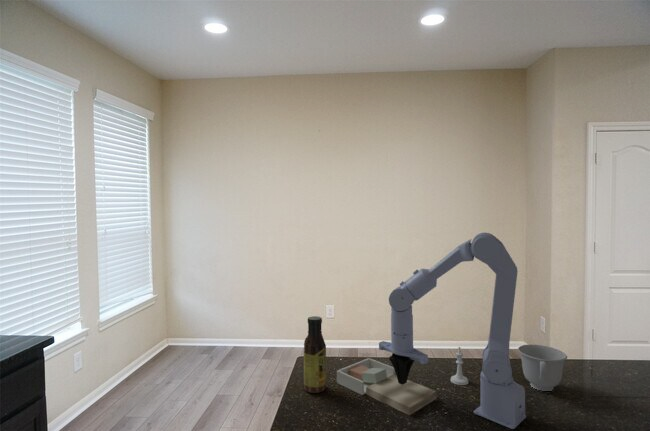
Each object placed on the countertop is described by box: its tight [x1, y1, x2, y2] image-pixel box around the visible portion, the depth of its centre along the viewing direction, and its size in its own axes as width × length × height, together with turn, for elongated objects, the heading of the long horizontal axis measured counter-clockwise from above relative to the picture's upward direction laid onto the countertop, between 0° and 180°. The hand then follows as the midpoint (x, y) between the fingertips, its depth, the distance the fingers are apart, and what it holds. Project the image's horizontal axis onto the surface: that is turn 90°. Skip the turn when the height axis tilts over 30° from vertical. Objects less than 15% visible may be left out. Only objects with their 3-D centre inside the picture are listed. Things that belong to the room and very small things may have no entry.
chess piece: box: [450, 346, 469, 386], centre depth 109 cm, size 5×5×10 cm
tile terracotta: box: [349, 365, 370, 381], centre depth 110 cm, size 5×5×2 cm
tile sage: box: [362, 368, 387, 383], centre depth 107 cm, size 5×5×2 cm
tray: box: [336, 357, 395, 396], centre depth 109 cm, size 10×14×4 cm
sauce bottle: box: [303, 315, 327, 394], centre depth 104 cm, size 7×6×20 cm
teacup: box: [517, 344, 568, 392], centre depth 103 cm, size 12×15×10 cm
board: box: [366, 373, 437, 416], centre depth 100 cm, size 14×12×2 cm
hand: (402, 382), depth 100 cm, fingers closed
